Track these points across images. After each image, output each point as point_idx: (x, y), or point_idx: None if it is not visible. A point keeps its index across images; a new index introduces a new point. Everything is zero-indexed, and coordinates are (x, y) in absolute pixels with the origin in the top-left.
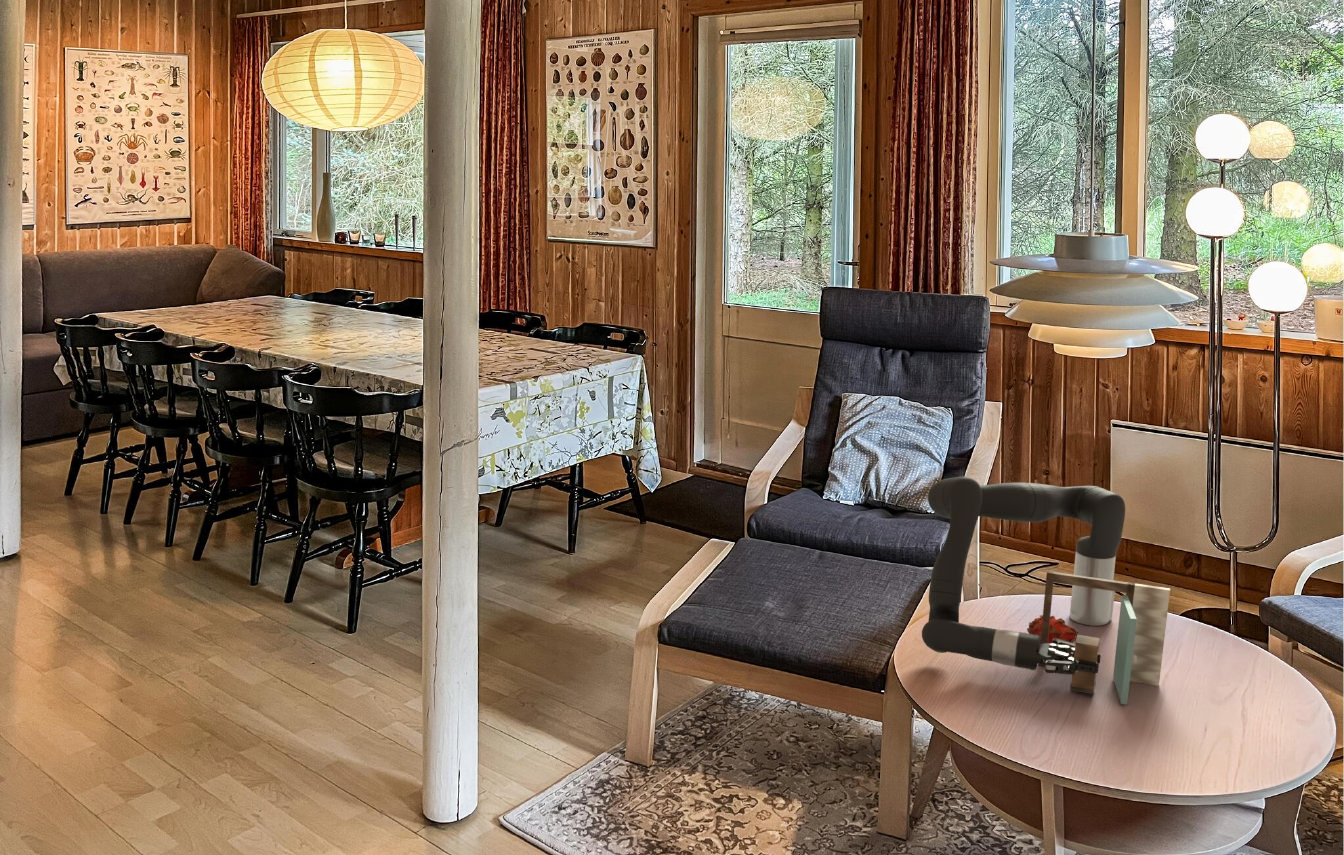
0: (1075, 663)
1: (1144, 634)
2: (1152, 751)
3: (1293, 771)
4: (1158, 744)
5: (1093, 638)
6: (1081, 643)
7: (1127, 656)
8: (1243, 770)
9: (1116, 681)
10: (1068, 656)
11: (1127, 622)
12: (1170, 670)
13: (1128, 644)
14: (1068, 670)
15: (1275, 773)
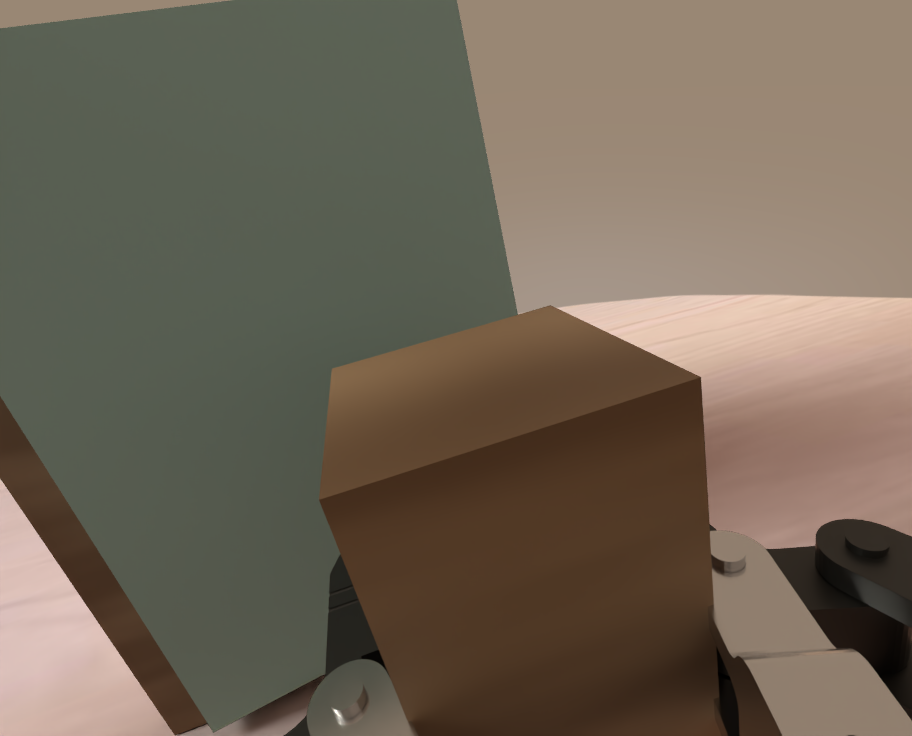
0: (837, 520)
1: None
2: (804, 375)
3: (571, 307)
4: (737, 387)
5: (368, 379)
6: (642, 351)
7: (508, 288)
8: (650, 315)
9: None
10: (789, 654)
11: (371, 80)
12: (74, 589)
13: (492, 203)
14: (892, 682)
15: (606, 307)
